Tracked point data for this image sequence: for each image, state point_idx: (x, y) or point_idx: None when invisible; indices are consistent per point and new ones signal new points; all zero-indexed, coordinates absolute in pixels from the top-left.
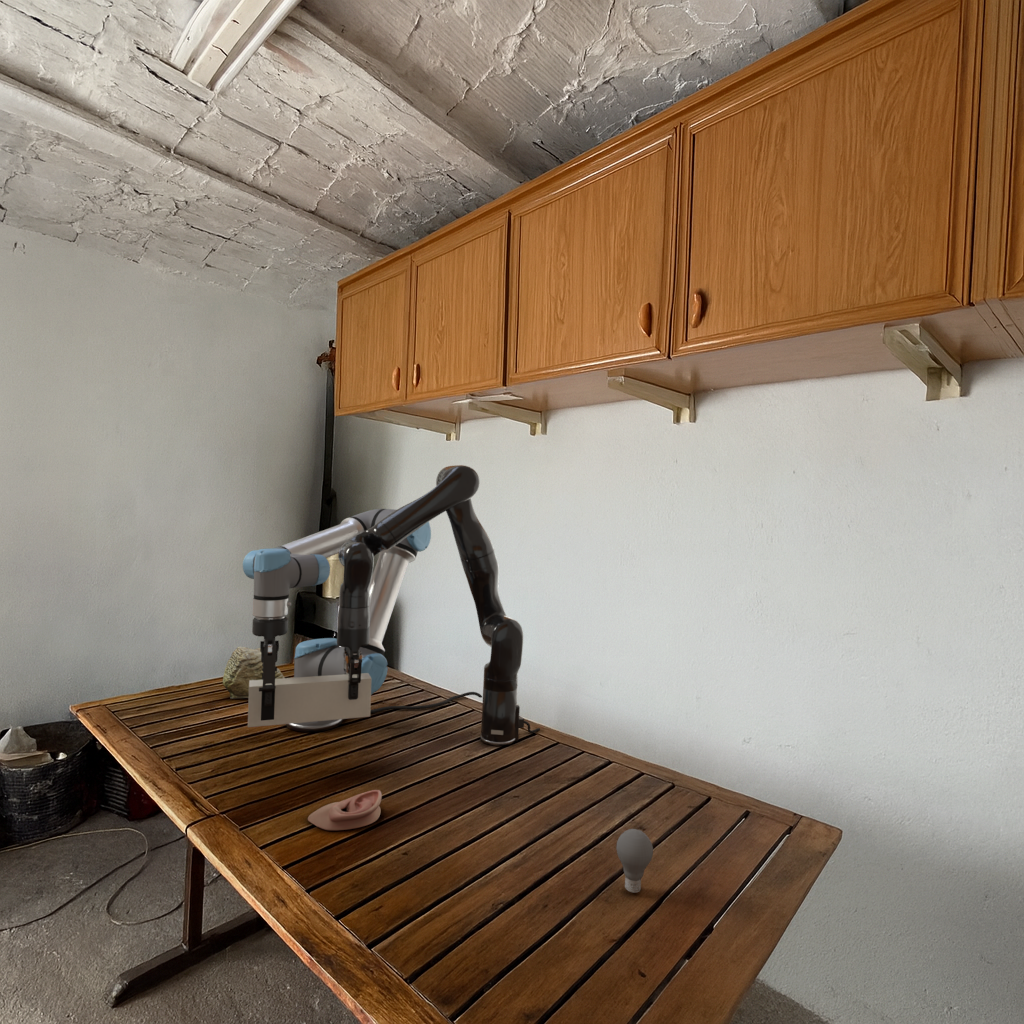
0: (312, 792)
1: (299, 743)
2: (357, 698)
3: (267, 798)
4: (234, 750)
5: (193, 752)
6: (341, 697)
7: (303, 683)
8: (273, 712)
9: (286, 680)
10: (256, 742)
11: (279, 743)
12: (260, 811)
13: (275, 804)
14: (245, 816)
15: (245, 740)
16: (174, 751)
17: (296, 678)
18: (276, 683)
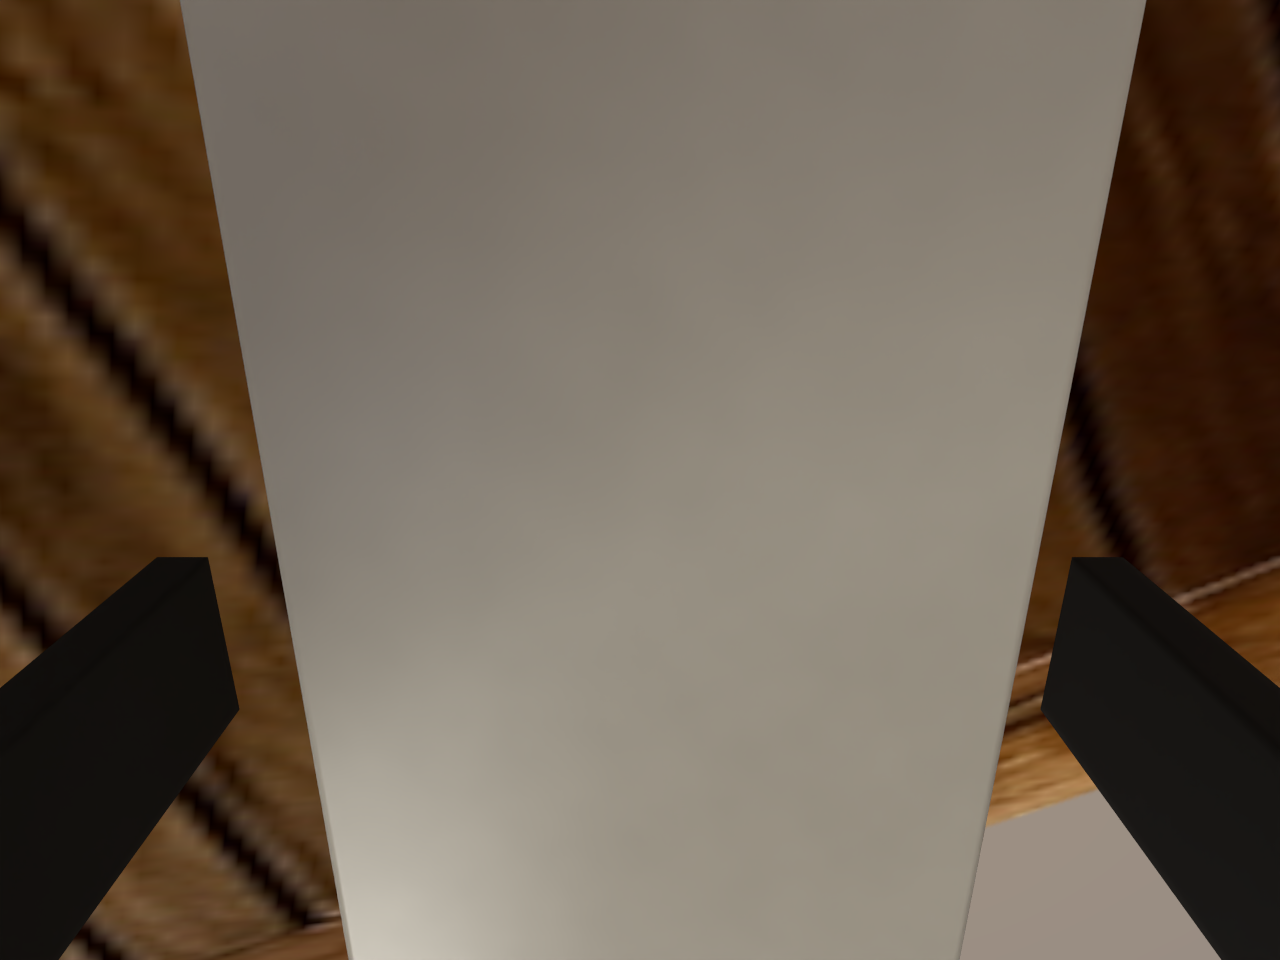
0: (1136, 54)
1: (102, 105)
2: None
3: (1081, 377)
4: (221, 589)
5: (233, 801)
6: None
7: (1129, 29)
8: (1186, 622)
9: (587, 632)
10: (70, 452)
11: (97, 280)
12: (1242, 418)
13: (1194, 328)
14: (1260, 498)
15: (28, 527)
16: (207, 886)
17: (392, 293)
18: (833, 879)
